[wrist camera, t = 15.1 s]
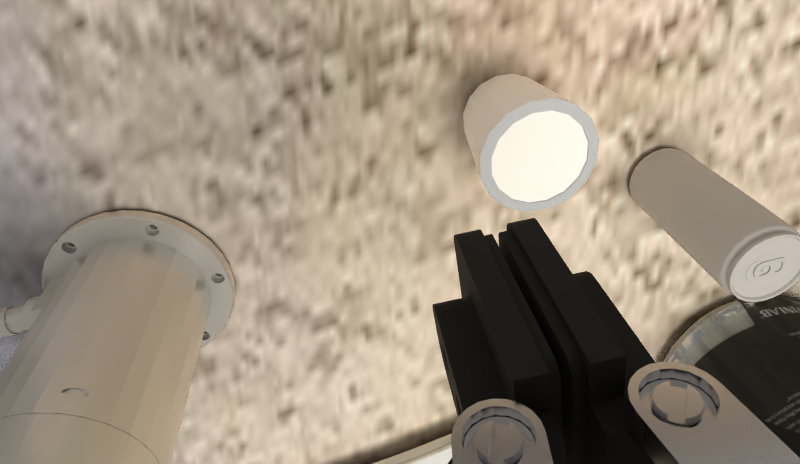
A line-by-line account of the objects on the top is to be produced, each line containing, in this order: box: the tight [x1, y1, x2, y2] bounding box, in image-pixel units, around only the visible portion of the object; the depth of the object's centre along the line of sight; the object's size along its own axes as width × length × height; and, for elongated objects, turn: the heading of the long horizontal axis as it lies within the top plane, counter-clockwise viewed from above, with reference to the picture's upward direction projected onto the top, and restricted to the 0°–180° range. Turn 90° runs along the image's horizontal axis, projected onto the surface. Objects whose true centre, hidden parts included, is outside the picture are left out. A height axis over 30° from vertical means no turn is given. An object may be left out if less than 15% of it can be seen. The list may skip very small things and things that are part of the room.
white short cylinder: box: [463, 73, 599, 212], centre depth 34 cm, size 7×7×7 cm
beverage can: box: [629, 148, 800, 302], centre depth 36 cm, size 5×5×12 cm
